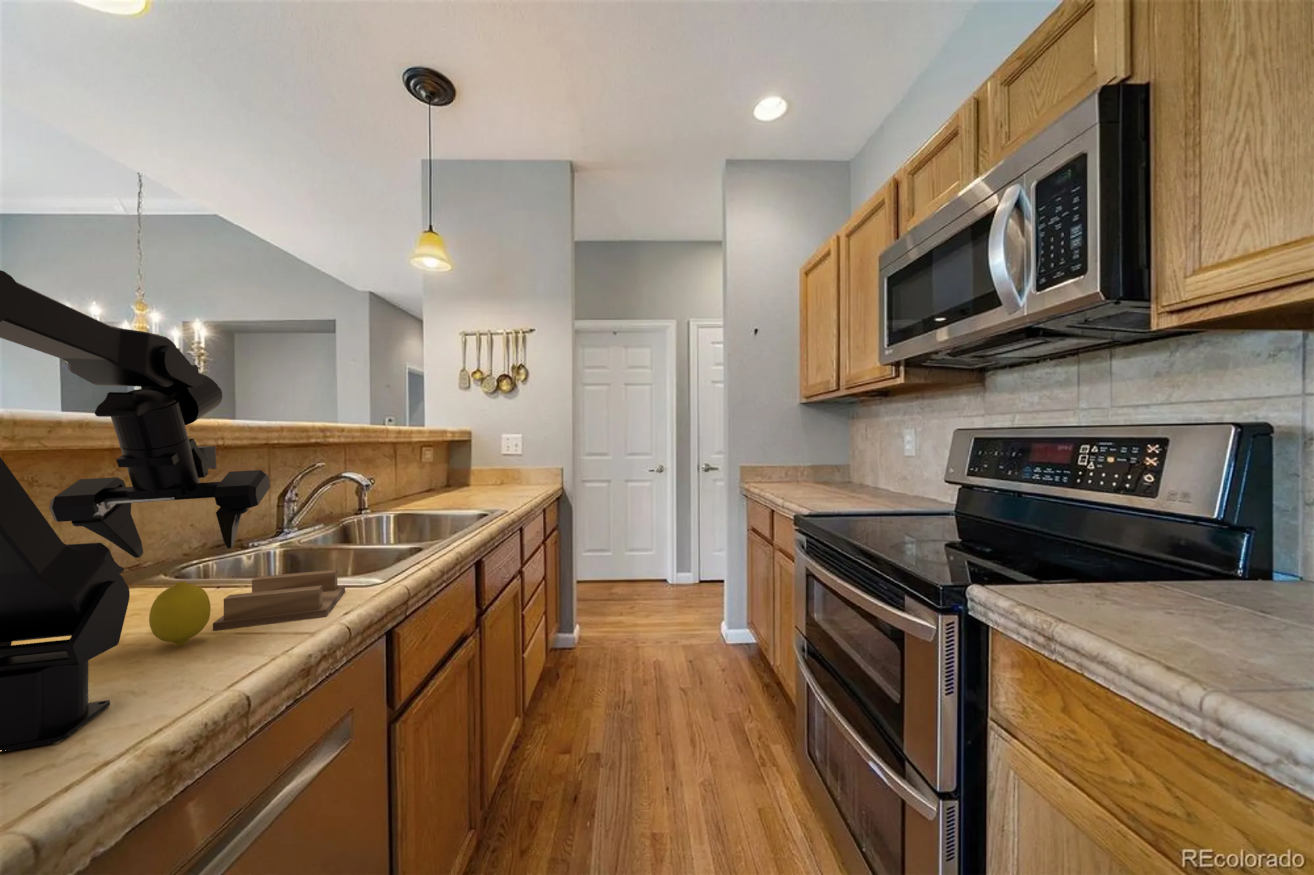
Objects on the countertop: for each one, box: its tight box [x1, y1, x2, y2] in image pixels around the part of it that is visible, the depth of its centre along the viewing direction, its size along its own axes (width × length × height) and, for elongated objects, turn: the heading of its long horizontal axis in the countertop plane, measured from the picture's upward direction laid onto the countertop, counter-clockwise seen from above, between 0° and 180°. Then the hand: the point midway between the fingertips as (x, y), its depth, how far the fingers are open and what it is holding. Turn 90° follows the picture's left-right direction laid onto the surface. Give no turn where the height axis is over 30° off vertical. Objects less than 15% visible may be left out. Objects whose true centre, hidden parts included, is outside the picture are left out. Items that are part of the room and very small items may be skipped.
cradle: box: [212, 569, 346, 631], centre depth 74 cm, size 13×13×4 cm
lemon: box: [148, 581, 211, 647], centre depth 61 cm, size 6×6×8 cm
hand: (186, 551), depth 63 cm, fingers open, 9 cm apart
